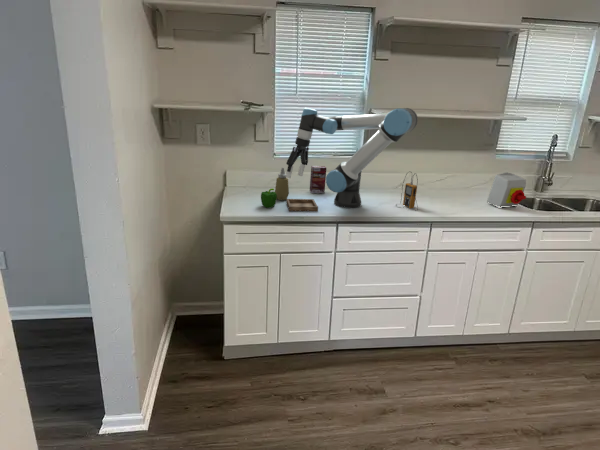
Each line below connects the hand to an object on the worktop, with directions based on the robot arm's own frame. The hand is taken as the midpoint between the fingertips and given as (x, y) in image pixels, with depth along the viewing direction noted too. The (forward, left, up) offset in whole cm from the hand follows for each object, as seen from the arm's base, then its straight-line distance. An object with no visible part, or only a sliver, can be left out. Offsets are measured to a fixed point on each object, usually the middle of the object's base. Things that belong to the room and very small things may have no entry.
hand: (294, 176), depth 228 cm
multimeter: (-57, -24, -15) cm, 63 cm away
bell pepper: (+8, +15, -15) cm, 22 cm away
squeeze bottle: (+8, -3, -15) cm, 17 cm away
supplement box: (-4, -29, -15) cm, 33 cm away
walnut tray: (-8, +6, -15) cm, 18 cm away
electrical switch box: (-111, -59, -15) cm, 127 cm away
